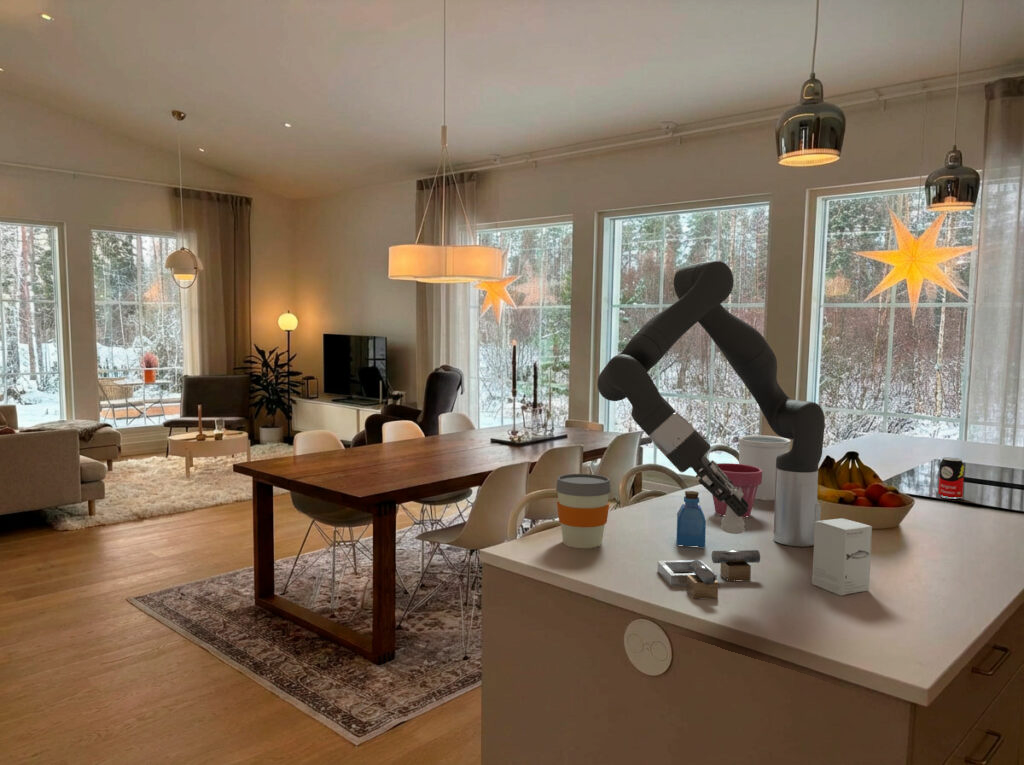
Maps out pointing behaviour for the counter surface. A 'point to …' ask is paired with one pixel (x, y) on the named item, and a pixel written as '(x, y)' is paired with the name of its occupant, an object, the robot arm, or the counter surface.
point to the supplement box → (842, 556)
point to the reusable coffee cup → (583, 508)
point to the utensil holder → (763, 459)
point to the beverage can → (951, 477)
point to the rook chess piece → (733, 517)
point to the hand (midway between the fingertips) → (744, 510)
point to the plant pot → (740, 484)
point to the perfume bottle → (691, 522)
